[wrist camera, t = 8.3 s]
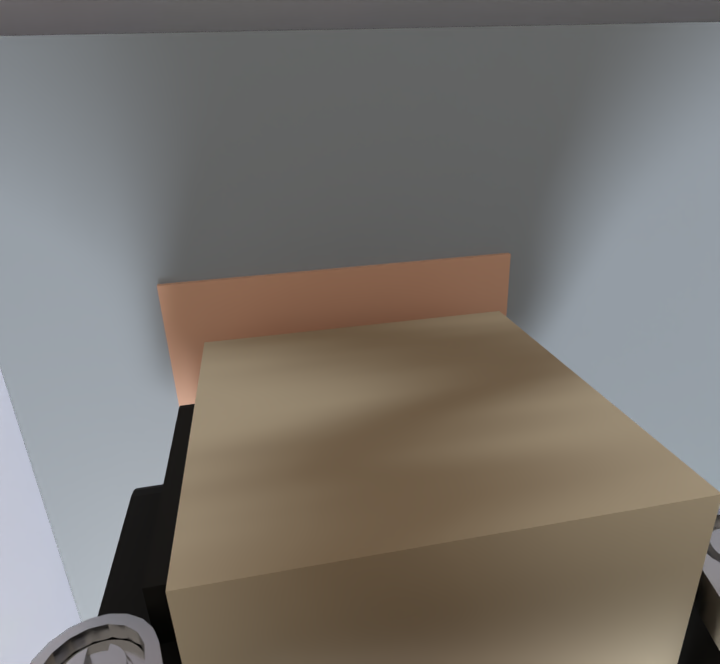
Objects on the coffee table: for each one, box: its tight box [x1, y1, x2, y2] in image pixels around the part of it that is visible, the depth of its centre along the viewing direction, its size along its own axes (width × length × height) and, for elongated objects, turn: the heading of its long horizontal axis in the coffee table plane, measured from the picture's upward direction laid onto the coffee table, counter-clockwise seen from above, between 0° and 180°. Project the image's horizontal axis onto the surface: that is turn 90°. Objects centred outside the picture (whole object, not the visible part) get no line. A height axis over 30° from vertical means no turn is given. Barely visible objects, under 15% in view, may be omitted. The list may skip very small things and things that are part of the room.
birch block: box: [165, 311, 720, 664], centre depth 8 cm, size 5×5×5 cm
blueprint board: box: [0, 22, 720, 622], centre depth 13 cm, size 24×15×1 cm, turn 92°
